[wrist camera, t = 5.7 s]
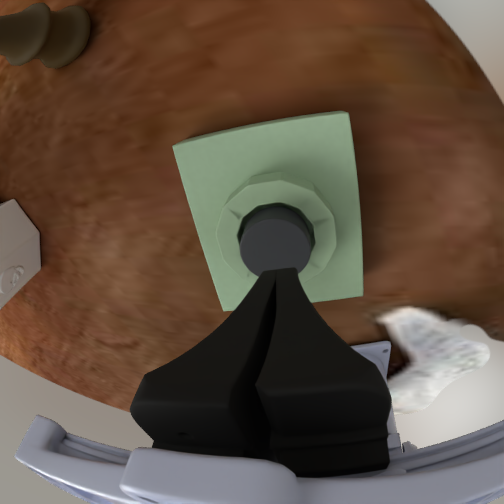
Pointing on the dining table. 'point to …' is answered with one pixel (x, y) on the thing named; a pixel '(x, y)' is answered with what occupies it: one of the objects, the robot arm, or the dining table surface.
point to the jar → (16, 250)
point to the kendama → (44, 35)
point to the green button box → (278, 198)
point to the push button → (275, 241)
